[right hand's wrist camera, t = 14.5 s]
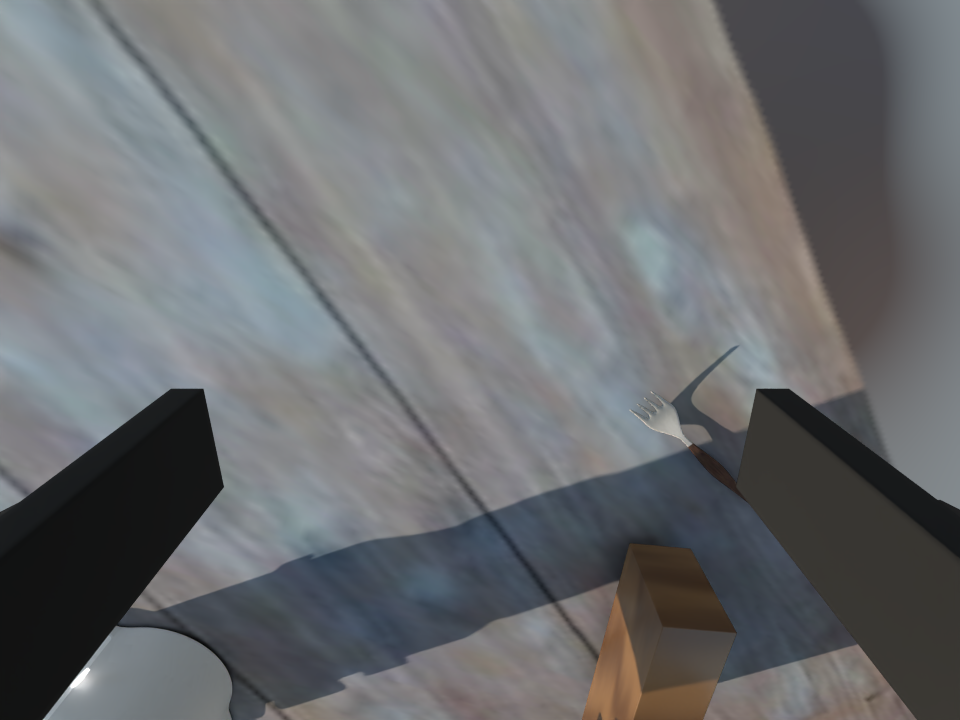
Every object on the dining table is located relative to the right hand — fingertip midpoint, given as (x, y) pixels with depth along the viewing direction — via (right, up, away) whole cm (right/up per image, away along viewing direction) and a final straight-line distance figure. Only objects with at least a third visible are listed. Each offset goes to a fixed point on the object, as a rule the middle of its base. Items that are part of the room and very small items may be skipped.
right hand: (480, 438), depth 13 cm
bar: (+14, -25, +37) cm, 47 cm away
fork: (+18, -5, +31) cm, 37 cm away
